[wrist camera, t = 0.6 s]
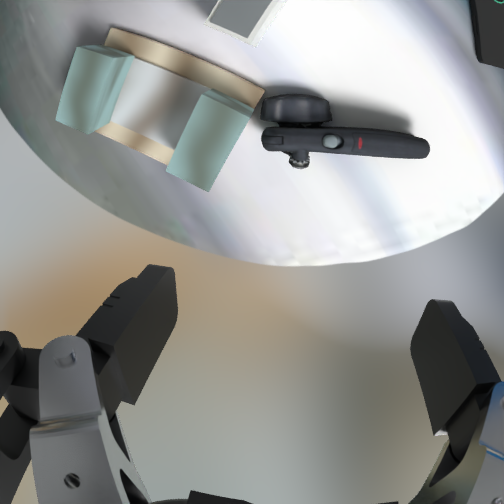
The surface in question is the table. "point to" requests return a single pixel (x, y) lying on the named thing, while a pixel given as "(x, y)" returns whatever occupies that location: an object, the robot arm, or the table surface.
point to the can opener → (328, 133)
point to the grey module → (244, 18)
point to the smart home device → (489, 31)
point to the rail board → (158, 103)
